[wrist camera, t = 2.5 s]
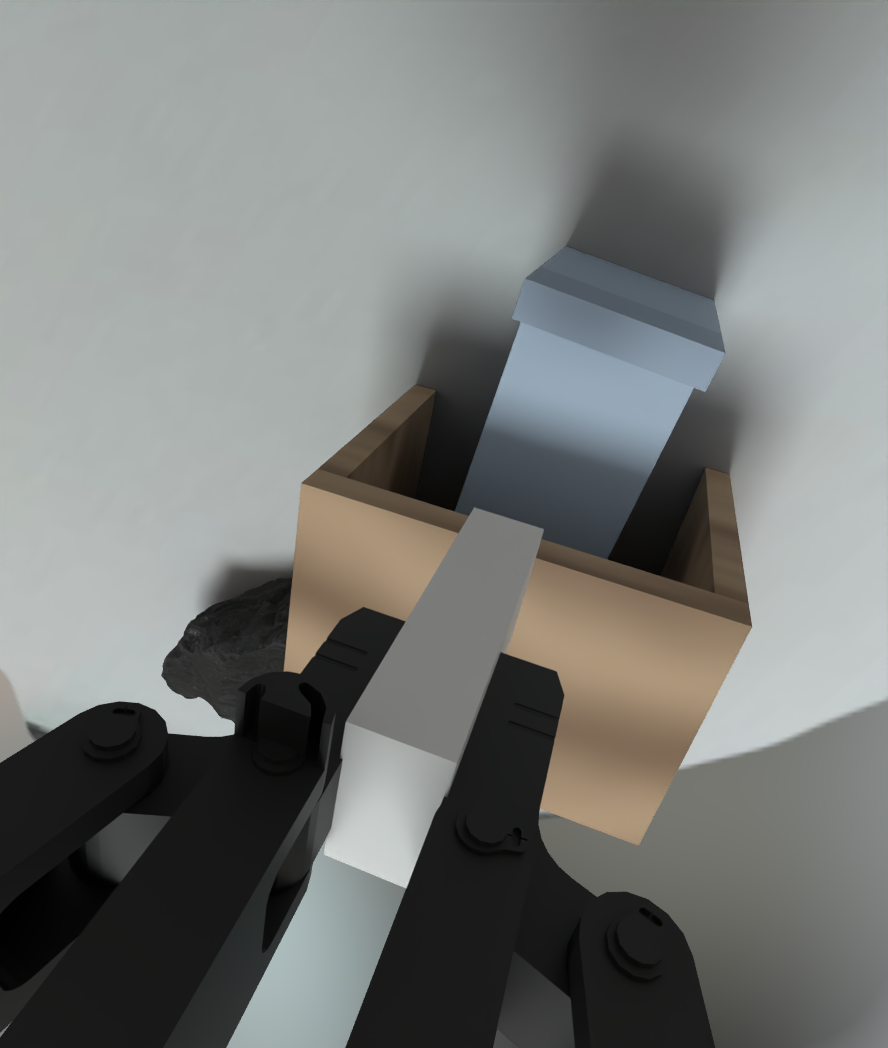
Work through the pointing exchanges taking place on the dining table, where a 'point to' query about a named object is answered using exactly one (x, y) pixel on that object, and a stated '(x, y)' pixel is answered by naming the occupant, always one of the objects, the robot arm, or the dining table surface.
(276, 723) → the robot arm
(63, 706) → the dining table surface
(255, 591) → the rock
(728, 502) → the open wooden crate
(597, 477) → the lidded box
